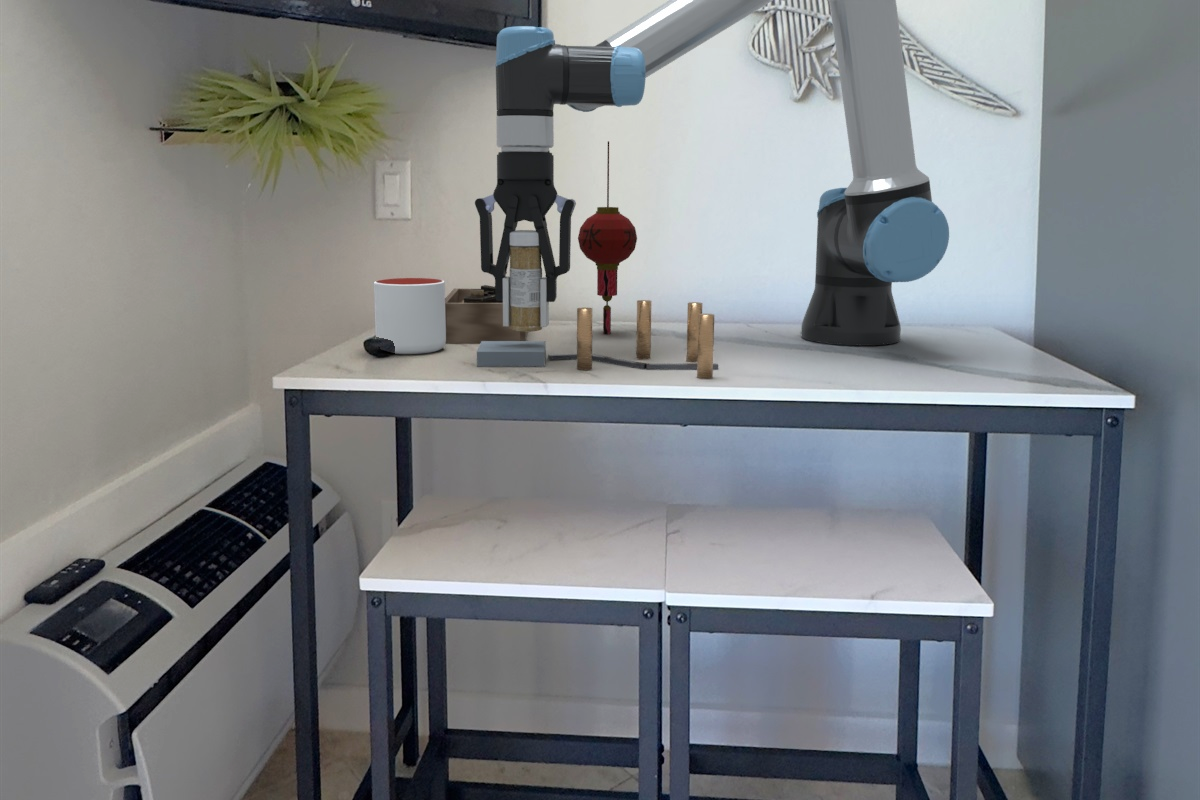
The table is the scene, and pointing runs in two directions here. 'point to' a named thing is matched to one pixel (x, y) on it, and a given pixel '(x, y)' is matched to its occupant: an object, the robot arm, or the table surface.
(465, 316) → the camera corral
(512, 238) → the sprinkles bottle
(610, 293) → the lantern
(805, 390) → the table surface
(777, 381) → the table surface
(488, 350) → the pad
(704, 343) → the wire course
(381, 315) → the cup
